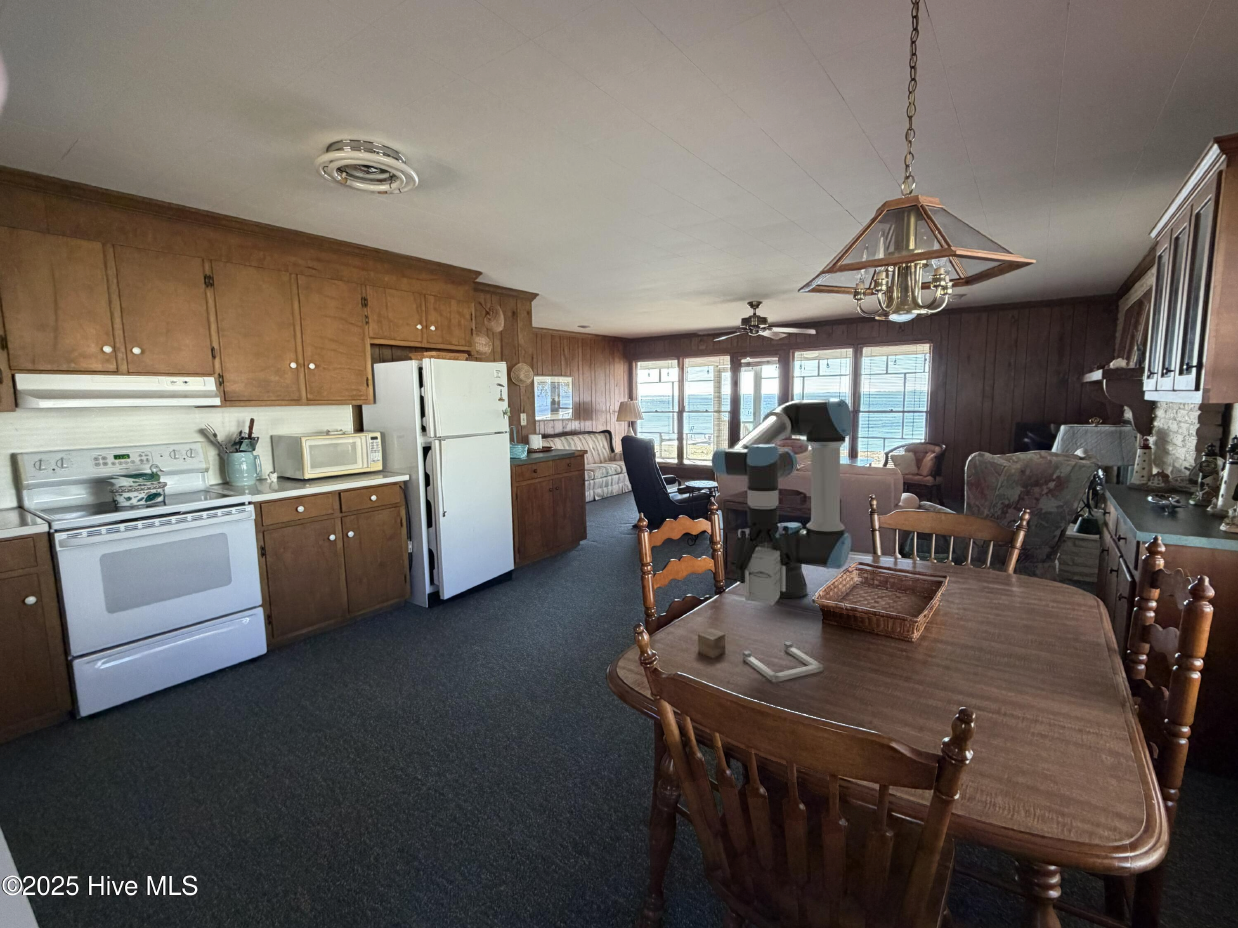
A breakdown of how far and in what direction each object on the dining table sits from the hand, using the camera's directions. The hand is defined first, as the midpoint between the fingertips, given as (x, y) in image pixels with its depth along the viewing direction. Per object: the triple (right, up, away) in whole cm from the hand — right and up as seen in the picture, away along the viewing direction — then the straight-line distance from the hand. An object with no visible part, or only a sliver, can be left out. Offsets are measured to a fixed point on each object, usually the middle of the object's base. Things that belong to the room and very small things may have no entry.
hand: (763, 592), depth 140 cm
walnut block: (-12, -17, +4) cm, 21 cm away
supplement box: (0, -2, 0) cm, 2 cm away
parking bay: (+3, -17, -4) cm, 18 cm away
